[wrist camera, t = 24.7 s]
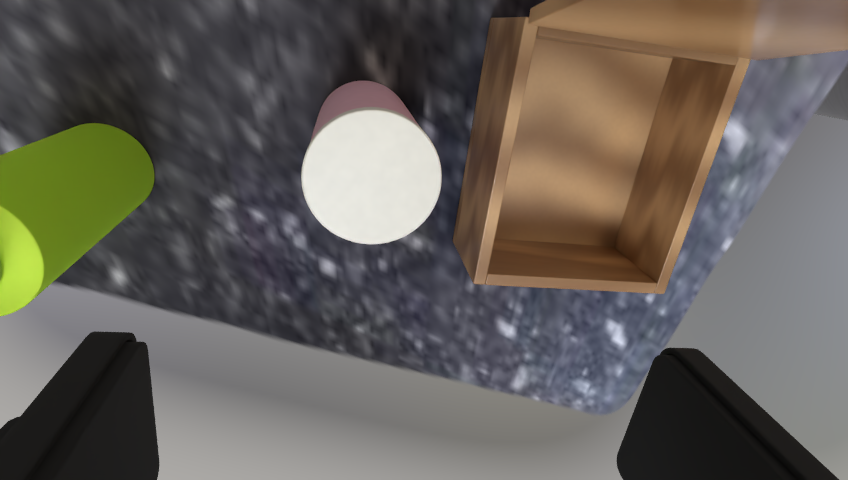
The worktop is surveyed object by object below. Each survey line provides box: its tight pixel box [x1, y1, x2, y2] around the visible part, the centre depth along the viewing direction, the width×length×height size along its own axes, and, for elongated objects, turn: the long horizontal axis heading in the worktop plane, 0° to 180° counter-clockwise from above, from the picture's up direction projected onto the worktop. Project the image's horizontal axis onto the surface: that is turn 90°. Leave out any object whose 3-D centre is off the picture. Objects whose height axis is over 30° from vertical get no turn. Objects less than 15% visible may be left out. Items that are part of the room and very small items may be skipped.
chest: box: [453, 17, 751, 294], centre depth 32 cm, size 16×14×7 cm
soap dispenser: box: [0, 123, 154, 316], centre depth 22 cm, size 6×7×20 cm
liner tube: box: [301, 81, 442, 244], centre depth 27 cm, size 6×6×12 cm
